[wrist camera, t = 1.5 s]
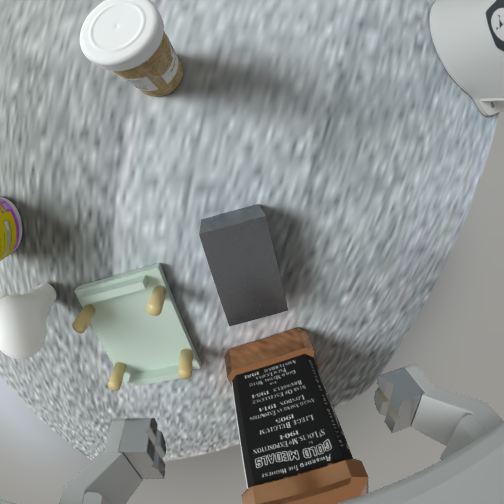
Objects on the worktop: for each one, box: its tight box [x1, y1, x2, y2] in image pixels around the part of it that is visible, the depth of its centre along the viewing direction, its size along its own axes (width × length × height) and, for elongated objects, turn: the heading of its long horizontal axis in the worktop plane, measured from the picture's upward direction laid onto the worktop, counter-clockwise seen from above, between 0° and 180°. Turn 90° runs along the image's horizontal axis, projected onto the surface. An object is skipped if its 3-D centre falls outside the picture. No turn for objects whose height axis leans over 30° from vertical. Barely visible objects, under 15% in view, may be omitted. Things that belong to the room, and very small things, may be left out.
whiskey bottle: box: [225, 328, 368, 504], centre depth 22 cm, size 10×10×32 cm
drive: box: [199, 204, 288, 326], centre depth 29 cm, size 6×9×5 cm, turn 14°
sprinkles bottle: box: [80, 0, 183, 96], centre depth 18 cm, size 5×5×13 cm
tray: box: [72, 263, 201, 391], centre depth 30 cm, size 10×13×5 cm
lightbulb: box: [0, 283, 56, 359], centre depth 25 cm, size 6×6×11 cm
